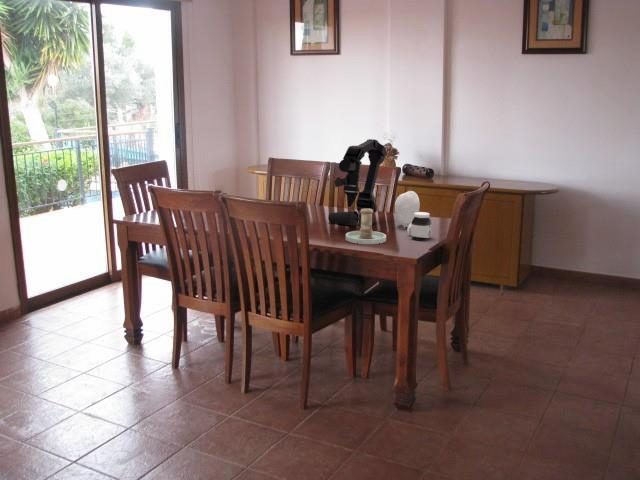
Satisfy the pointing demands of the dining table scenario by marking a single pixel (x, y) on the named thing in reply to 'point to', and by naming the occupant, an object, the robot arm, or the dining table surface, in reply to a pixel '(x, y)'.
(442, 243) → the dining table surface
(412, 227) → the spread jar
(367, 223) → the bead tower
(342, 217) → the drinking cup
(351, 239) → the round tray
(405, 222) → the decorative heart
